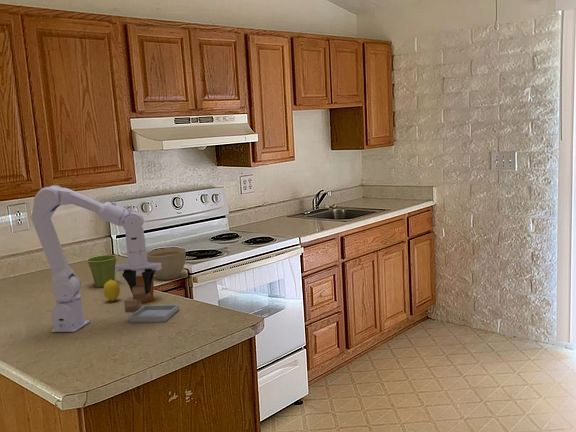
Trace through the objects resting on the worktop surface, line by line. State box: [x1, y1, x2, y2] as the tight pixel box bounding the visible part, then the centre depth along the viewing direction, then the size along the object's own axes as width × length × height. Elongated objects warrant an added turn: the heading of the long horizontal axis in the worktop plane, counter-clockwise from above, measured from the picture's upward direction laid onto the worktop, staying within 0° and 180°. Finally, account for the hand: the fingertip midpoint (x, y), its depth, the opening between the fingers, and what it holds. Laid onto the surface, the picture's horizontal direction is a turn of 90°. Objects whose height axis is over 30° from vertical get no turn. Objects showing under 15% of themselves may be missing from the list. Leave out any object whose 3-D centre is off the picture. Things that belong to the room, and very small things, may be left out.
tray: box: [127, 304, 180, 324], centre depth 184 cm, size 12×12×2 cm
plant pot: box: [85, 254, 118, 288], centre depth 230 cm, size 12×12×11 cm
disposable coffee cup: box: [136, 270, 155, 304], centre depth 202 cm, size 10×10×12 cm
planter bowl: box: [146, 247, 187, 281], centre depth 235 cm, size 16×16×11 cm
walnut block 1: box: [131, 284, 150, 300], centre depth 181 cm, size 4×4×4 cm
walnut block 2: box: [123, 296, 143, 313], centre depth 192 cm, size 4×4×4 cm
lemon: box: [103, 280, 121, 302], centre depth 205 cm, size 6×6×8 cm
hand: (141, 292), depth 181 cm, fingers closed on walnut block 1, 4 cm apart
